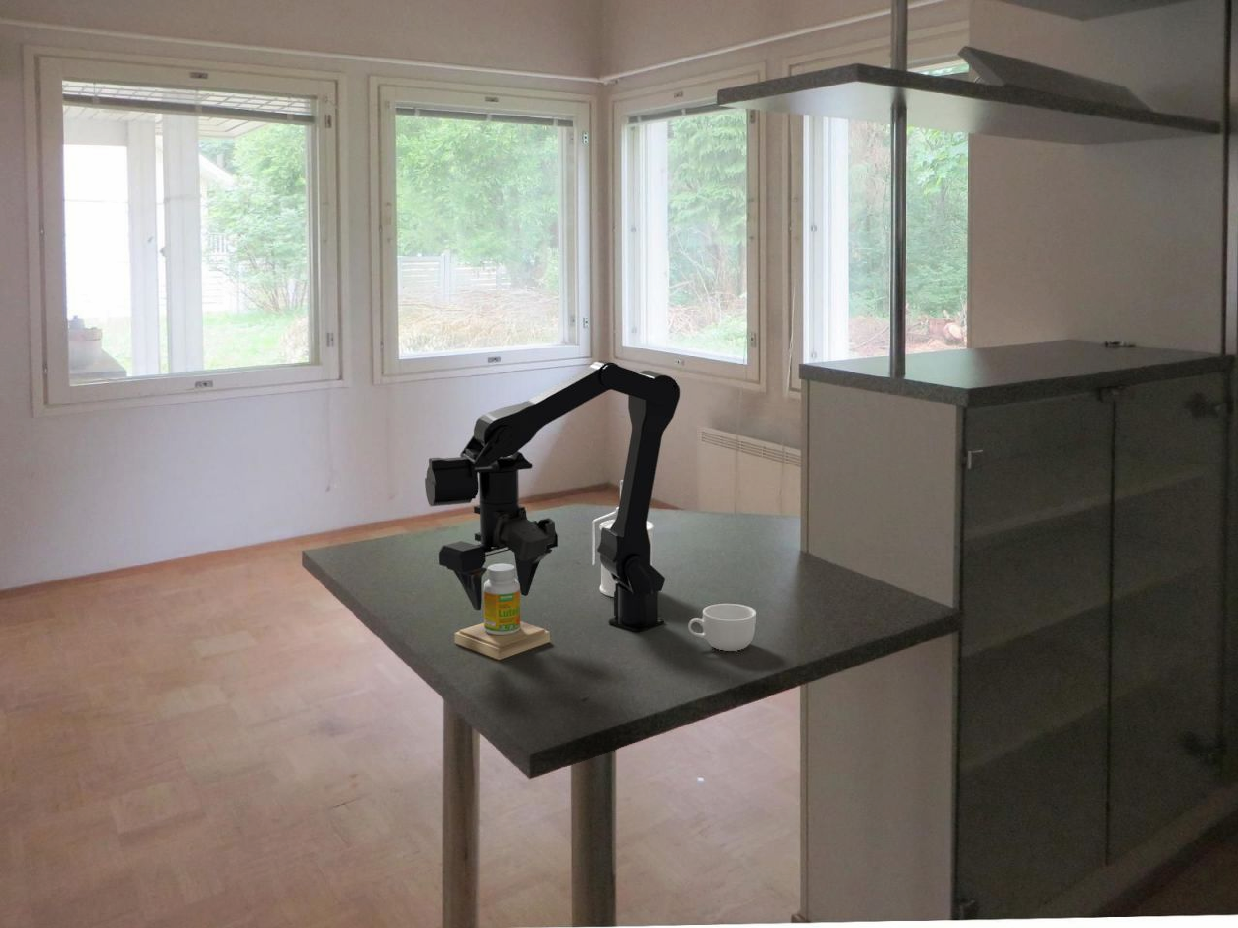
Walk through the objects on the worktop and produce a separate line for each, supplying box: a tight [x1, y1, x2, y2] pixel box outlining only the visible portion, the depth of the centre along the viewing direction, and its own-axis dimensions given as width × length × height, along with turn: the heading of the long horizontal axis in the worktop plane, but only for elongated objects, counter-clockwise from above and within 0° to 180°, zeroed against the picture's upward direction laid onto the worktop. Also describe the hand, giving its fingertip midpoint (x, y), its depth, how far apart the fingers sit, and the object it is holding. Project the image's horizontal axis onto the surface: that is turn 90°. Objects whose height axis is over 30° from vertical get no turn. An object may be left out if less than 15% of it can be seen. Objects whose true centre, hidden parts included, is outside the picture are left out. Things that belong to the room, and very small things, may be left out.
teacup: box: [687, 603, 757, 652], centre depth 164 cm, size 10×8×5 cm
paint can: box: [591, 479, 655, 598], centre depth 189 cm, size 10×9×20 cm
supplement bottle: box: [482, 563, 521, 635], centre depth 165 cm, size 5×5×10 cm
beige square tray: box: [454, 620, 551, 661], centre depth 166 cm, size 10×10×2 cm
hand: (501, 602), depth 165 cm, fingers open, 9 cm apart
